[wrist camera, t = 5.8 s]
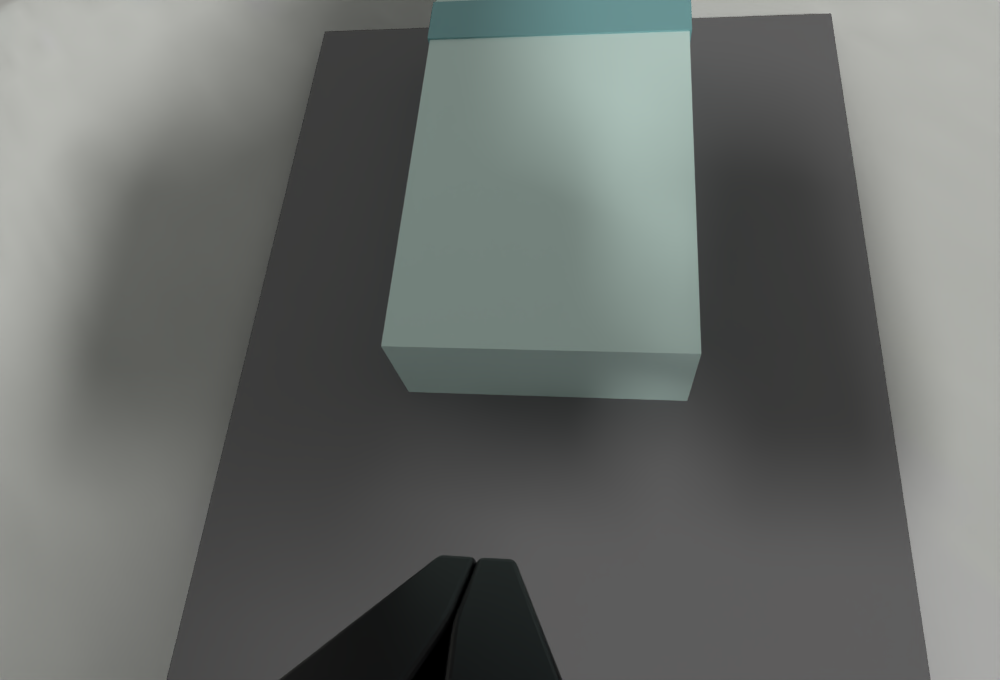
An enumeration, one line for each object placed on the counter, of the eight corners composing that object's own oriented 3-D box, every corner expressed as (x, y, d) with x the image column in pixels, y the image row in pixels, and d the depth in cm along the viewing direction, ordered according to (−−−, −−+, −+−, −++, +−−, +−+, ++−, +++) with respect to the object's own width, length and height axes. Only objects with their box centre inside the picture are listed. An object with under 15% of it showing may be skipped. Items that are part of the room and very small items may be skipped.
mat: (1017, 1363, 10) (1037, 1394, 10) (60, 1179, 12) (39, 1198, 12) (826, 28, 21) (830, 13, 20) (330, 44, 22) (325, 31, 22)
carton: (704, 353, 14) (689, -33, 18) (378, 345, 15) (436, -22, 19) (689, 401, 16) (679, 48, 20) (407, 392, 17) (454, 55, 21)
